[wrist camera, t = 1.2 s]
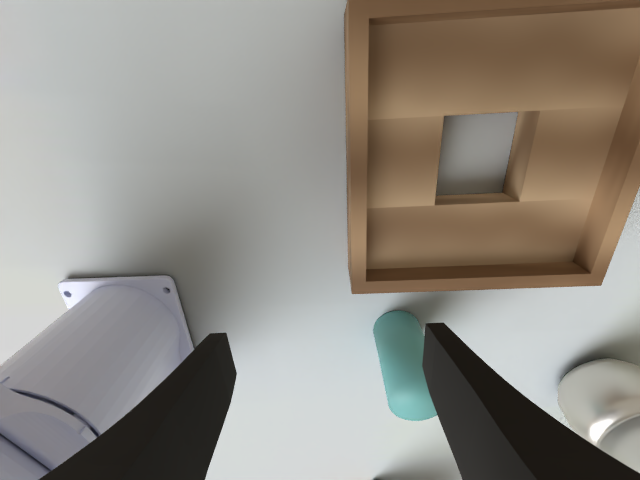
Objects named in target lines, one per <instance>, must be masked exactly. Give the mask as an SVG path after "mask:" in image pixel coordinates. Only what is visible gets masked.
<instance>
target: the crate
mask: <svg viewBox="0 0 640 480" xmlns="http://www.w3.org/2000/svg"><path fill="white" fill-rule="evenodd" d="M344 38H345V99H346V160H347V221H348V269H349V276H350V283H351V291H352V294H368V293H397V292H427V291H456V290H485V289H514V288H543V287H573V286H601V285H602V282H603V279H604V277H605V274H606V272H607V269H608V266H609V264H610V261H611V259H612V256H613V254H614V251H615V248H616V246H617V243H618V241H619V238H620V235H621V233H622V230H623V228H624V225H625V223H626V220H627V217H628V215H629V212H630V210H631V207H632V204H633V202H634V199H635V197H636V194H637V192H638V189H639V186H640V0H347V4H346V9H345V14H344ZM504 112H518V117H517V122H516V127H515V132H514V137H513V142H512V147H511V152H510V157H509V162H508V167H507V172H506V177H505V182H504V187H503V192H502V193H483V194H461V195H439V196H436V186H437V177H438V168H439V158H440V149H441V140H442V130H443V121H444V116H450V115H468V114H486V113H504Z"/></svg>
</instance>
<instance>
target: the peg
mask: <svg viewBox="0 0 640 480" xmlns="http://www.w3.org/2000/svg"><path fill="white" fill-rule="evenodd" d="M373 332H374V337H375V342H376V346H377V351H378V356H379V361H380V366H381V371H382V375H383V380H384V385H385V390H386V395H387V400H388V404H389V408H390V410H391V411H392V412H393V413H394V414H395V415H396V416H398V417H400V418H402V419H405V420H411V421H420V420H426V419H429V418H432V417H434V416H436V415H437V412H436V410H435V407H434V405H433V402H432V399H431V397H430V394H429V390H428V387H427V383H426V379H425V375H424V372H423V368H422V362H423V350H424V338H425V336H424V334H423V332H422V329H421V327H420V324H419V322H418V320H417V319H416V317H415V316H414V315H412V314H411V313H409V312H406V311H391V312H388V313H385V314H384V315H382V316H381V317H380V318H378V320H377V321H376V322H375V325H374V329H373Z"/></svg>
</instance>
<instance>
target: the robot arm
mask: <svg viewBox="0 0 640 480" xmlns="http://www.w3.org/2000/svg"><path fill="white" fill-rule="evenodd" d="M165 287H166V288H169V289H170V291H169V290H167V289H166V288H165ZM58 288H59V290H60V292H61V294H62V297H63V299H64V301H65V303H66V305H67V307H68V309H69V310H68V311H67V312H65V313H64V314H63V315H62V316H61V317H59V318H58V319H57V320H56V321H54V322H53V323H52V324H51V325H50V326H48V327H47V328H46V329H45V330H43V331H42V332H41V333H40V334H38V335H37V336H36V337H35V338H34V339H32V340H31V341H30V342H29V343H27V344H26V345H25V346H24V347H23V348H21V349H20V350H19V351H18V352H16V353H15V354H14V355H13V356H12V357H10V358H9V359H8V360H7V361H5V362H4V363H3V364H2V365H1V366H0V480H205V477H206V474H207V470H208V467H209V465H210V462H211V459H212V456H213V453H214V450H215V447H216V444H217V441H218V438H219V435H220V432H221V430H222V427H223V424H224V421H225V418H226V415H227V412H228V409H229V406H230V403H231V398H232V394H233V390H234V385H235V380H236V375H237V373H236V369H235V365H234V361H233V357H232V354H231V350H230V346H229V342H228V338H227V334H226V333H211V334H209V335H208V336H207V337H206V338H205V339H204V340H203V341H202V342H201V343H200V344H199V345H198V346H197V347H196V348H195V349H194V348H193V344H192V341H191V337H190V334H189V331H188V327H187V324H186V320H185V317H184V313H183V310H182V307H181V303H180V300H179V296H178V293H177V290H176V286H175V283H174V280H173V279H172V278H171V277H169V276H166V275H163V276H137V277H110V278H83V279H64V280H62V281H61V282H59V283H58ZM422 368H423V372H424V375H425V379H426V383H427V387H428V390H429V394H430V397H431V399H432V402H433V405H434V407H435V410H436V412H437V415H438V417H439V420H440V422H441V425H442V427H443V430H444V432H445V435H446V437H447V440H448V442H449V445H450V448H451V450H452V453H453V455H454V458H455V460H456V463H457V465H458V468H459V471H460V474H461V477H462V479H463V480H640V473H638V472H637V471H635V470H633V469H632V468H630V467H628V466H627V465H625V464H623V463H622V462H620V461H618V460H617V459H615V458H614V457H612V456H610V455H609V454H607V453H605V452H604V451H602V450H601V449H599V448H598V447H596V446H595V445H593V444H591V443H590V442H588V441H587V440H585V439H584V438H582V437H581V436H579V435H578V434H576V433H575V432H573V431H572V430H570V429H569V428H567V427H566V426H564V425H563V424H561V423H560V422H559V421H557V420H556V419H554V418H553V417H552V416H550V415H549V414H548V413H546V412H545V411H544V410H542V409H541V408H539V407H538V406H537V405H535V404H534V403H533V402H531V401H530V400H529V399H528V398H526V397H525V396H524V395H522V394H521V393H520V392H519V391H517V390H516V389H515V388H514V387H513V386H511V385H510V384H509V383H508V382H507V381H505V380H504V379H503V378H502V377H501V376H500V375H498V374H497V373H496V372H495V371H494V370H493V369H492V368H491V367H489V366H488V365H487V364H486V363H485V362H484V361H483V360H482V359H481V358H480V357H478V356H477V355H476V354H475V353H474V352H473V351H472V350H471V349H470V348H469V347H468V346H467V345H466V344H465V343H464V342H463V341H462V340H461V339H460V338H459V337H458V336H457V335H456V334H455V333H454V332H453V331H452V330H450V329H449V328H448V327H447V326H446V325H445V324H444V323H426V327H425V338H424V350H423V362H422Z"/></svg>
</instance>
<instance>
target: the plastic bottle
mask: <svg viewBox="0 0 640 480" xmlns="http://www.w3.org/2000/svg"><path fill="white" fill-rule="evenodd" d="M558 404H559V406H560V408H561V410H562V412H563V414H564V416H565V418H566V420H567V422H568V423H569V425H570V427H571V428H572V429H573V430H574V431H575V432H576V433H577V434H578V435H579V436H581V437H582V438H584V439H585V440H587V441H588V442H590V443H591V444H593V445H595V446H596V447H598V448H599V449H601V450H602V451H604V452H605V453H607V454H609V455H610V456H612V457H614V458H615V459H617V460H618V461H620V462H622V463H623V464H625V465H627V466H628V467H630V468H632V469H633V470H635V471H637V472H638V473H640V367H639V366H637V365H635V364H632V363H629V362H625V361H621V360H617V359H598V360H593V361H589V362H586V363H584V364H581V365H579V366H578V367H576V368H574V369H573V370H571V371H570V372H568V373H567V374H566V375H565V376H564V377H563V379H562V380H561V381H560V384H559V386H558Z"/></svg>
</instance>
